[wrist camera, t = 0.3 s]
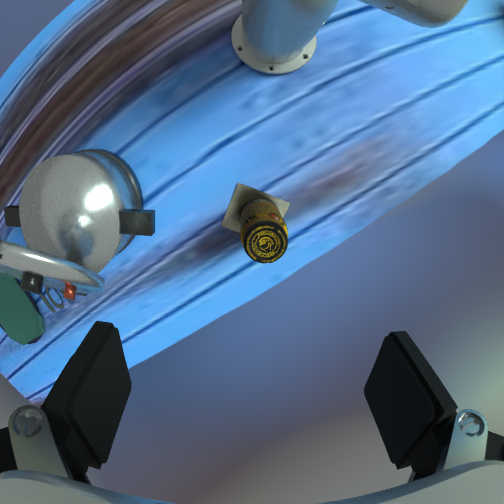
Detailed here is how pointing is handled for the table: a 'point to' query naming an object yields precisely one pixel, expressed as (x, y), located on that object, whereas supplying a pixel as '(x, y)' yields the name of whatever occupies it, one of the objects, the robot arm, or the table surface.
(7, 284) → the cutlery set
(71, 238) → the cooker body
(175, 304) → the table surface
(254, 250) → the condiment
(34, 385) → the table surface
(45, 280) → the cooker lid
